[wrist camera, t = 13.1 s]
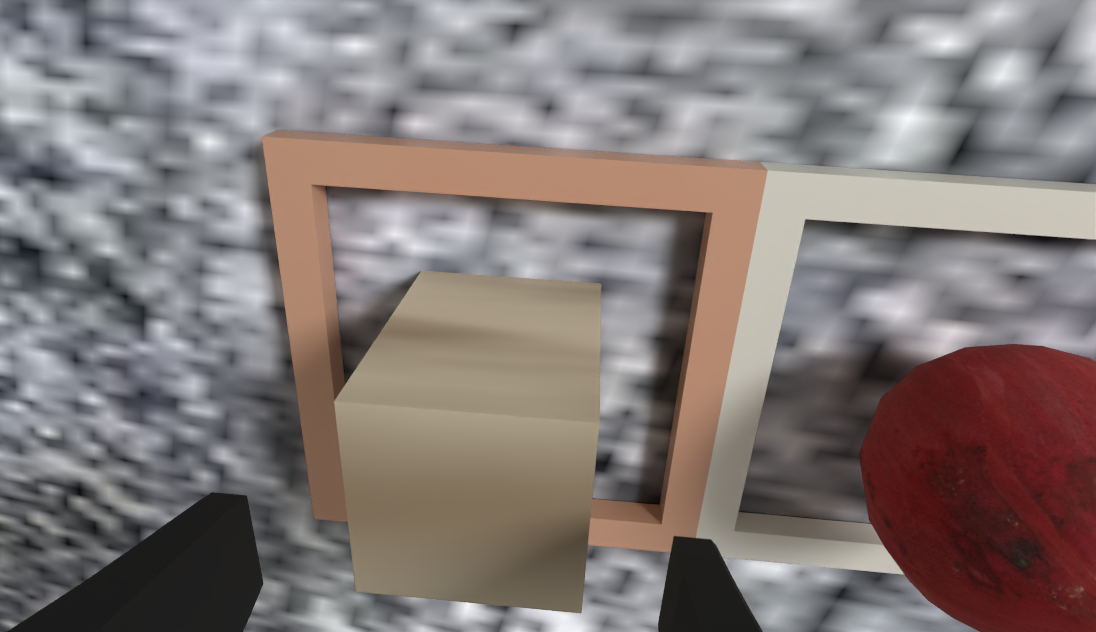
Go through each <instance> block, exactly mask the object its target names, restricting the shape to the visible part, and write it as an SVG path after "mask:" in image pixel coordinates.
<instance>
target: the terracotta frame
mask: <svg viewBox="0 0 1096 632" xmlns="http://www.w3.org/2000/svg"><path fill="white" fill-rule="evenodd" d="M262 143H263V150H264V157H265V165H266V172H267V179H268V187H269V194H270V201H271V209H272V216H273V223H274V231H275V238H276V245H277V253H278V260H279V267H280V275H281V282H282V289H283V296H284V304H285V311H286V318H287V326H288V333H289V340H290V348H291V355H292V362H293V370H294V377H295V384H296V392H297V399H298V406H299V414H300V421H301V428H302V435H303V443H304V450H305V457H306V465H307V472H308V479H309V487H310V494H311V501H312V509H313V516H314V519H319V520H329V521H340V522H348V519H347V510H346V501H345V493H344V484H343V475H342V466H341V458H340V449H339V440H338V431H337V423H336V414H335V405H334V401H335V399H336V398H337V396H338V395H339V393H340V392H341V390H342V389H343V387H344V386H345V379H344V369H343V359H342V349H341V339H340V329H339V318H338V308H337V298H336V288H335V278H334V268H333V257H332V247H331V237H330V227H329V217H328V207H327V196H326V186H340V187H354V188H368V189H382V190H397V191H411V192H425V193H439V194H454V195H468V196H482V197H496V198H511V199H525V200H539V201H553V202H568V203H582V204H596V205H610V206H625V207H639V208H653V209H667V210H682V211H696V212H706V216H705V223H704V229H703V235H702V241H701V248H700V254H699V260H698V266H697V273H696V279H695V285H694V291H693V298H692V304H691V310H690V316H689V323H688V329H687V335H686V341H685V348H684V354H683V360H682V367H681V373H680V379H679V385H678V392H677V398H676V404H675V410H674V417H673V423H672V429H671V435H670V442H669V448H668V454H667V460H666V467H665V473H664V479H663V485H662V492H661V498H660V504H659V505H656V504H645V503H634V502H623V501H612V500H600V499H592V506H591V517H590V527H589V538H588V545H596V546H607V547H617V548H628V549H639V550H649V551H660V552H670V553H671V548H672V542H673V536H681V537H692V538H696V534H697V529H698V524H699V519H700V514H701V508H702V503H703V498H704V493H705V488H706V483H707V478H708V473H709V468H710V463H711V457H712V452H713V447H714V442H715V437H716V432H717V427H718V422H719V417H720V412H721V407H722V401H723V396H724V391H725V386H726V381H727V376H728V371H729V366H730V361H731V356H732V351H733V345H734V340H735V335H736V330H737V325H738V320H739V315H740V310H741V305H742V300H743V294H744V289H745V284H746V279H747V274H748V269H749V264H750V259H751V254H752V249H753V244H754V238H755V233H756V228H757V223H758V218H759V213H760V208H761V203H762V198H763V193H764V187H765V182H766V177H767V172H768V170H767V169H766V168H765V167H764V166H763V165H762V164H761V163H760V162H752V161H737V160H722V159H707V158H692V157H677V156H662V155H647V154H632V153H617V152H602V151H587V150H571V149H556V148H541V147H526V146H511V145H496V144H481V143H466V142H451V141H436V140H421V139H406V138H391V137H376V136H361V135H346V134H331V133H316V132H301V131H286V130H276V131H274V132H272V133H269V134H267V135H264V136H262Z"/></svg>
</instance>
